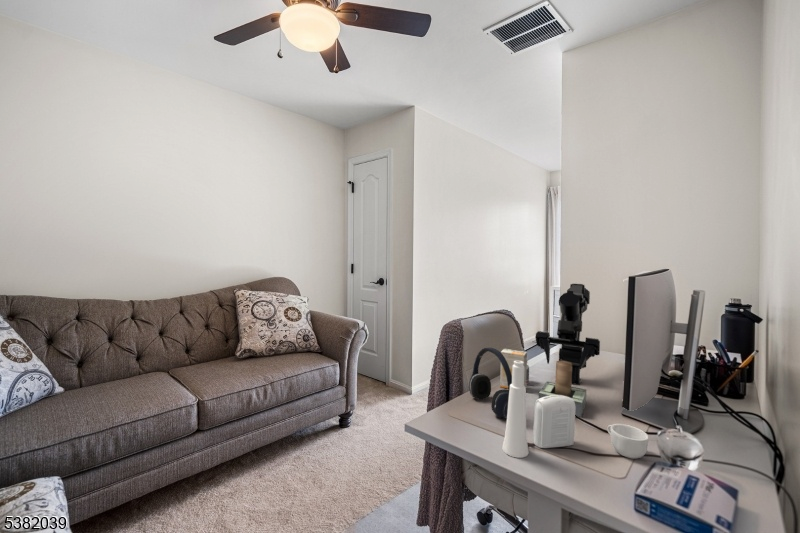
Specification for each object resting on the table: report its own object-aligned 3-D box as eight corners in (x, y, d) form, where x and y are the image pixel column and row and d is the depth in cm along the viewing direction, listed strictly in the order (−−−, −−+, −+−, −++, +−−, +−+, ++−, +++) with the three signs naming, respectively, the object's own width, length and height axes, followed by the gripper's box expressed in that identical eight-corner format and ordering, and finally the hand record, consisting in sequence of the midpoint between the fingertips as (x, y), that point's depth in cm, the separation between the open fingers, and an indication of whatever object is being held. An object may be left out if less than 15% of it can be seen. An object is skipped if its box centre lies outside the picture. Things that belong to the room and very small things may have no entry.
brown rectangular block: (560, 399, 116) (562, 359, 115) (573, 404, 111) (575, 364, 111) (551, 401, 113) (553, 361, 113) (564, 407, 109) (565, 366, 109)
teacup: (655, 460, 83) (656, 438, 83) (629, 465, 81) (631, 442, 81) (618, 438, 93) (619, 418, 93) (595, 442, 91) (596, 421, 91)
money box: (546, 394, 121) (546, 381, 120) (585, 403, 114) (586, 389, 114) (538, 406, 111) (538, 392, 110) (581, 417, 104) (581, 402, 104)
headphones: (520, 421, 101) (523, 358, 100) (499, 424, 99) (502, 359, 98) (483, 393, 120) (485, 340, 120) (465, 395, 118) (467, 341, 117)
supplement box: (526, 388, 126) (528, 351, 125) (523, 392, 122) (524, 355, 121) (503, 383, 130) (504, 347, 130) (499, 387, 126) (500, 350, 125)
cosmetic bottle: (498, 444, 89) (501, 357, 88) (521, 443, 89) (525, 357, 88) (508, 458, 83) (511, 365, 82) (533, 457, 83) (536, 365, 82)
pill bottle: (526, 380, 134) (527, 357, 133) (530, 385, 128) (531, 361, 128) (512, 379, 134) (513, 356, 134) (515, 384, 129) (516, 360, 128)
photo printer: (565, 437, 93) (567, 391, 92) (576, 446, 89) (579, 397, 88) (530, 441, 91) (532, 393, 90) (540, 450, 86) (542, 401, 86)
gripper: (537, 307, 119) (529, 347, 110) (601, 313, 109) (597, 357, 101) (541, 326, 126) (533, 365, 117) (601, 333, 116) (597, 376, 108)
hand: (563, 365), depth 111 cm, fingers open, 9 cm apart
